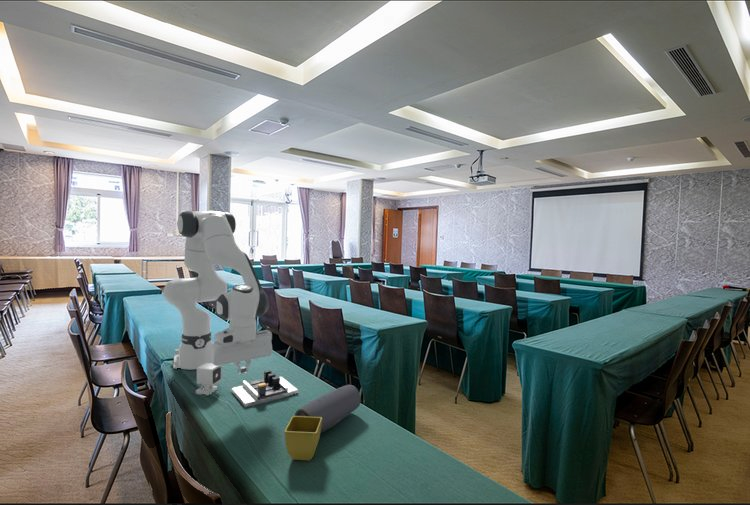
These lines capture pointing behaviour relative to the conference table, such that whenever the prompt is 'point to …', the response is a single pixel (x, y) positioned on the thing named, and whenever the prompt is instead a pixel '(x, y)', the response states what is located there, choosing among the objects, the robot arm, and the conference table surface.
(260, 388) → the handle
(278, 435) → the conference table surface
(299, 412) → the bluetooth speaker
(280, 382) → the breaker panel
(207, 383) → the security camera
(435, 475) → the conference table surface
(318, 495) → the conference table surface
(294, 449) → the flower pot
